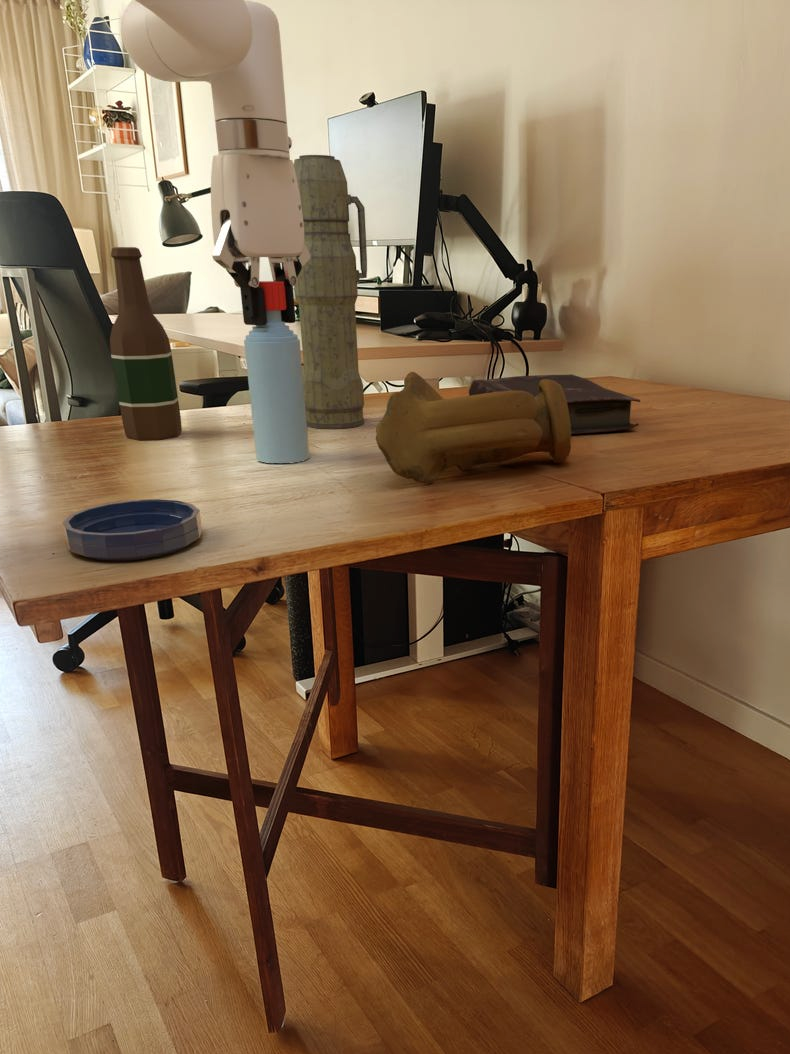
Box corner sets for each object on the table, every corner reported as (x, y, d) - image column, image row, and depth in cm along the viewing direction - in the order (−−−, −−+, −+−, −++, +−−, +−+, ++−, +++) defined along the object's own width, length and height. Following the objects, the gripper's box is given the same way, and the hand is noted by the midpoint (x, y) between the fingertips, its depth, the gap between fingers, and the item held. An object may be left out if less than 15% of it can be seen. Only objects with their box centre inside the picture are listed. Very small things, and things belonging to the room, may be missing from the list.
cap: (292, 309, 100) (290, 281, 99) (262, 311, 97) (259, 282, 96) (275, 308, 102) (272, 281, 101) (245, 309, 100) (242, 281, 99)
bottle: (267, 466, 103) (248, 290, 95) (249, 456, 108) (231, 289, 100) (317, 460, 106) (303, 289, 98) (298, 451, 111) (284, 287, 103)
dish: (80, 572, 69) (74, 542, 68) (59, 537, 77) (54, 510, 76) (217, 549, 74) (213, 521, 73) (183, 519, 83) (180, 493, 82)
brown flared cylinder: (373, 393, 107) (547, 360, 107) (394, 497, 108) (565, 464, 109) (360, 362, 88) (570, 322, 89) (385, 488, 90) (591, 448, 90)
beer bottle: (189, 437, 119) (162, 247, 110) (130, 442, 116) (97, 246, 106) (177, 428, 126) (150, 247, 116) (120, 433, 122) (88, 247, 112)
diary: (520, 439, 118) (520, 401, 116) (468, 410, 140) (468, 378, 138) (643, 431, 123) (646, 395, 121) (575, 404, 145) (576, 373, 143)
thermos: (291, 420, 131) (268, 158, 117) (368, 416, 134) (355, 161, 120) (297, 430, 124) (273, 151, 109) (378, 426, 127) (365, 154, 112)
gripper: (284, 152, 101) (298, 318, 109) (166, 138, 89) (191, 327, 96) (332, 148, 97) (342, 320, 105) (215, 132, 85) (237, 330, 92)
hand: (270, 321), depth 100 cm, fingers closed on cap, 3 cm apart
